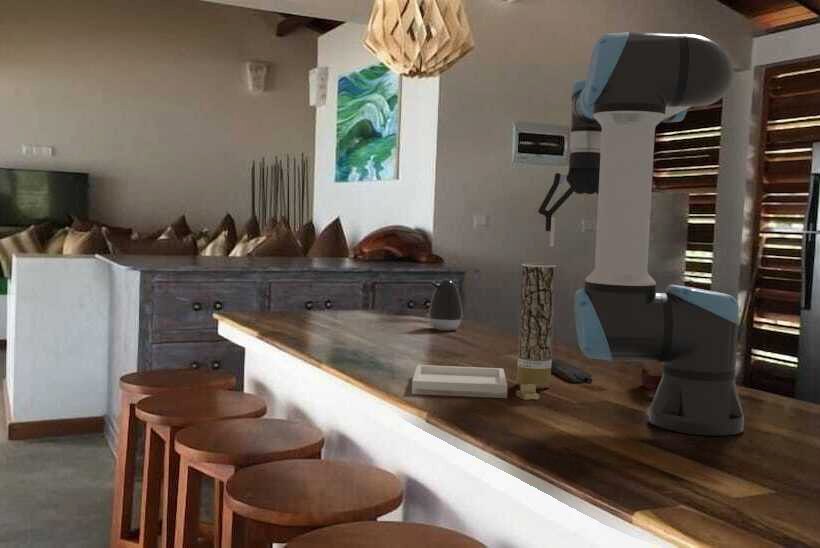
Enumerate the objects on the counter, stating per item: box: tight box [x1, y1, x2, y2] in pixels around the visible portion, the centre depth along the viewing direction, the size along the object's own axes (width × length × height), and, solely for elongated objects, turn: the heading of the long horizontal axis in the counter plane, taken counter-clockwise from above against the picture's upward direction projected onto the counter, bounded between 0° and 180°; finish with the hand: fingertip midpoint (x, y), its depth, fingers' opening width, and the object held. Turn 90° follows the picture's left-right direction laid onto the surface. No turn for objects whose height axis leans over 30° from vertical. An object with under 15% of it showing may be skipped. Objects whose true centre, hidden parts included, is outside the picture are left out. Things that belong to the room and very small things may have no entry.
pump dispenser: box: [428, 278, 464, 332], centre depth 258 cm, size 10×10×15 cm
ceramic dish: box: [411, 364, 508, 399], centre depth 171 cm, size 18×18×2 cm
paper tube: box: [516, 262, 557, 390], centre depth 173 cm, size 7×7×25 cm
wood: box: [551, 358, 593, 385], centre depth 190 cm, size 22×7×3 cm, turn 9°
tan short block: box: [515, 384, 540, 401], centre depth 163 cm, size 4×3×3 cm
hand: (582, 247), depth 192 cm, fingers open, 13 cm apart
